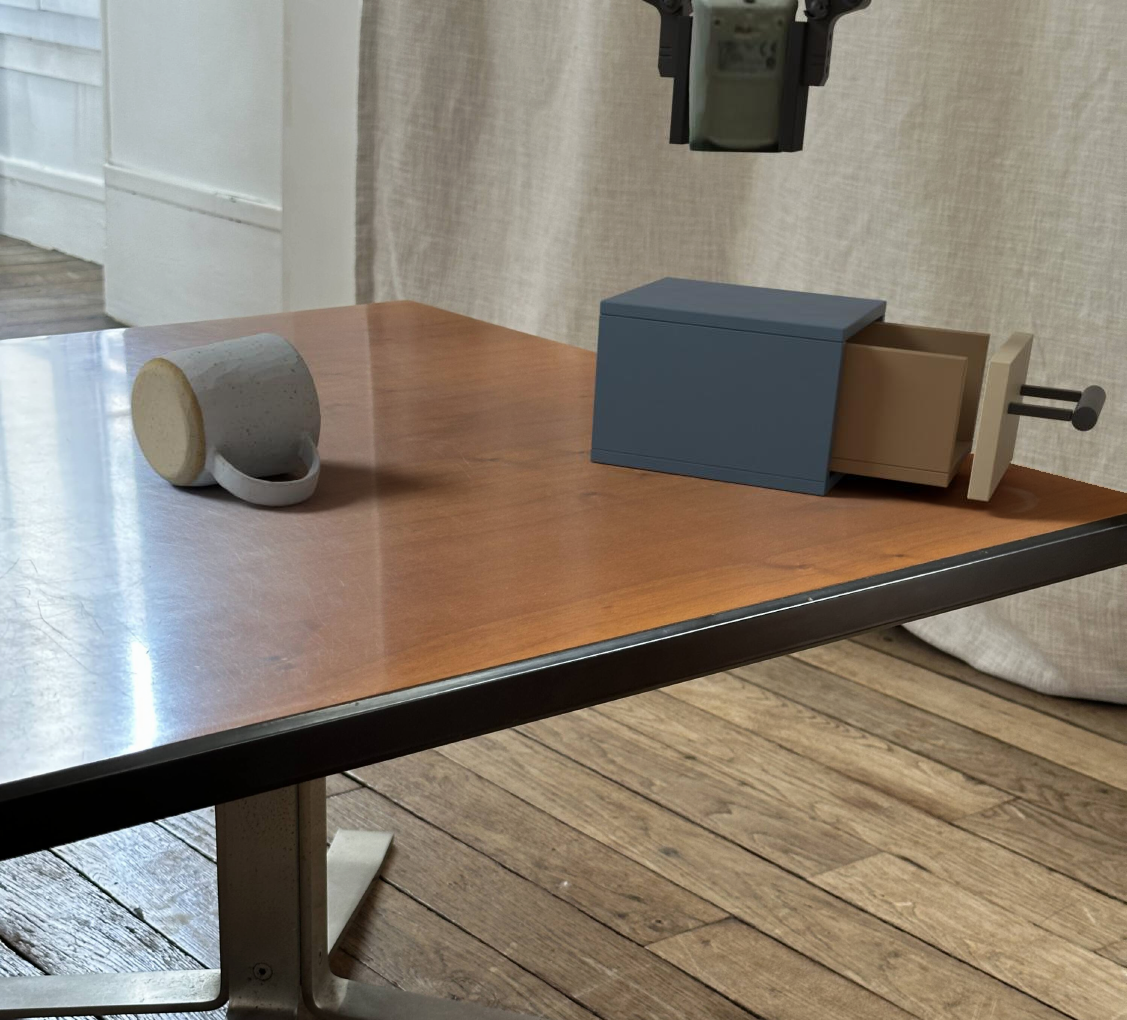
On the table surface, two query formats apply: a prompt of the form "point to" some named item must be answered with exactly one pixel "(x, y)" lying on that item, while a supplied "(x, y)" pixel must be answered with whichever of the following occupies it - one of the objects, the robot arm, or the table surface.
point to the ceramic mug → (231, 418)
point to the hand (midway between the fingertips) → (736, 146)
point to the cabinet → (724, 381)
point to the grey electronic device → (738, 74)
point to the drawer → (940, 405)
